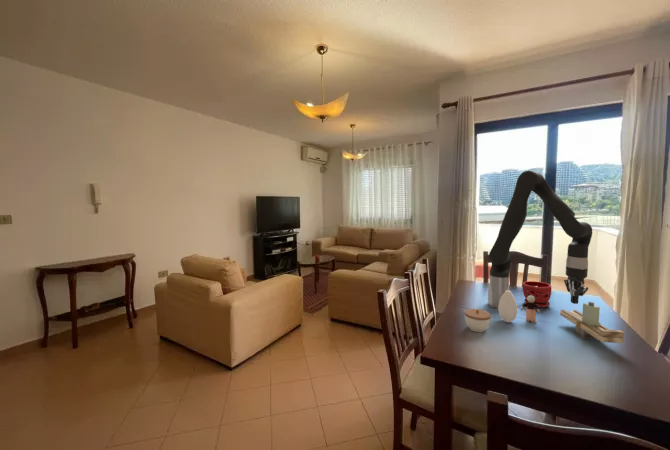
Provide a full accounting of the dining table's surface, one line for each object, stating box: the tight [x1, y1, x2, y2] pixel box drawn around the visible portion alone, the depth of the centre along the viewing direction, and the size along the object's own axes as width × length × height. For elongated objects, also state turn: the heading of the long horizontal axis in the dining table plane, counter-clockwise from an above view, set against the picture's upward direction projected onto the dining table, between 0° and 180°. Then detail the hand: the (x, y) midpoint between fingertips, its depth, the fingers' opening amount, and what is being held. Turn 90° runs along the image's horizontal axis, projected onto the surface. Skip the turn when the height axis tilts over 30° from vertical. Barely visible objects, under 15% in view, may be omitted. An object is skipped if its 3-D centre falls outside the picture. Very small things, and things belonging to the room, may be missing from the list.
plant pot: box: [522, 280, 552, 308], centre depth 157 cm, size 13×13×12 cm
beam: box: [559, 309, 625, 344], centre depth 121 cm, size 8×26×8 cm, turn 171°
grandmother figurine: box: [520, 296, 541, 323], centre depth 137 cm, size 8×4×13 cm, turn 65°
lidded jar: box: [464, 308, 492, 333], centre depth 130 cm, size 11×11×9 cm
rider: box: [582, 301, 601, 326], centre depth 119 cm, size 4×4×9 cm
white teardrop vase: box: [497, 285, 518, 323], centre depth 136 cm, size 8×8×18 cm
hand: (574, 303), depth 129 cm, fingers closed
